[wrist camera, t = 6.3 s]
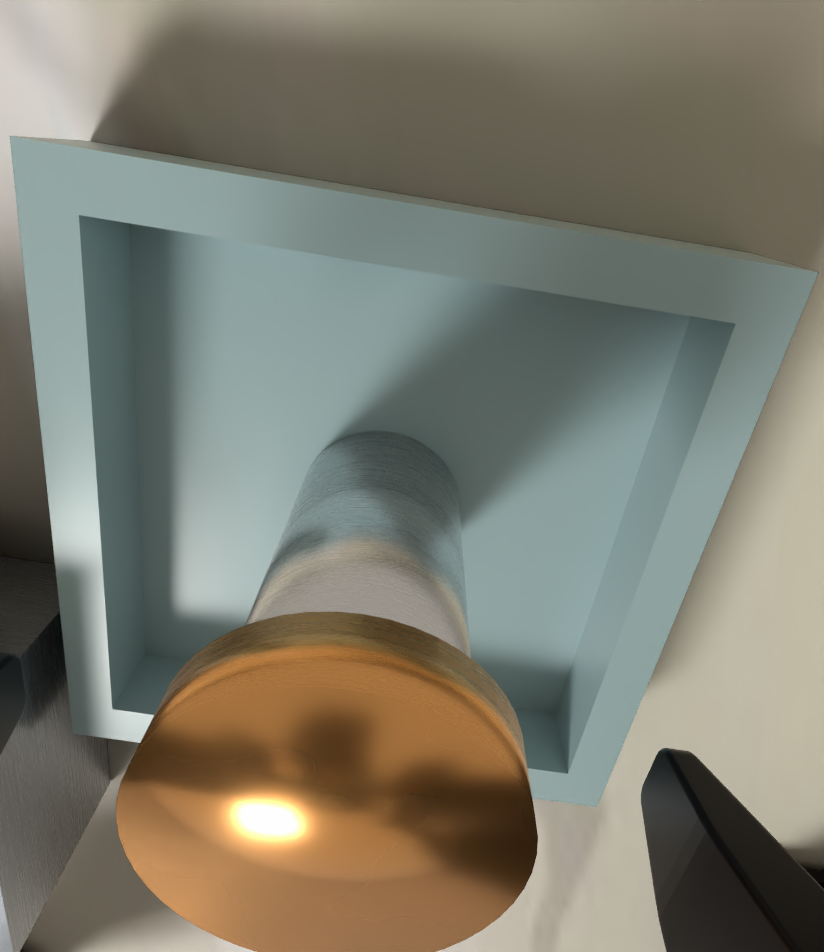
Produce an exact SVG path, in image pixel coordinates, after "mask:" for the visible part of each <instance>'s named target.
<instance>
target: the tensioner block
mask: <svg viewBox="0 0 824 952" xmlns="http://www.w3.org/2000/svg"><path fill="white" fill-rule="evenodd" d="M0 651H3V652H10V653H14V654H17V655H18V656H19V658H20V660H21V665H22V672H23V678H24V685H25V692H26V704H25V708H24V711H23V714H22V716H21V718H20V720H19V722H18V724H17V725H16V727H15V729H14V731H13V733H12V735H11V737H10V739H9V741H8V743H7V744H6V746H5V748H4V750H3V752H2V754H1V756H0V952H20V950H21V949H22V947H23V945H24V943H25V941H26V939H27V937H28V935H29V934H30V932H31V930H32V928H33V926H34V924H35V922H36V920H37V919H38V917H39V915H40V913H41V911H42V909H43V907H44V905H45V904H46V902H47V900H48V898H49V896H50V894H51V892H52V890H53V889H54V887H55V885H56V883H57V881H58V879H59V877H60V875H61V874H62V872H63V870H64V868H65V866H66V864H67V862H68V860H69V859H70V857H71V855H72V853H73V851H74V849H75V847H76V845H77V844H78V842H79V840H80V838H81V836H82V834H83V832H84V830H85V829H86V827H87V825H88V823H89V821H90V819H91V817H92V815H93V814H94V812H95V810H96V808H97V806H98V804H99V802H100V800H101V799H102V797H103V795H104V793H105V791H106V789H107V787H108V785H109V784H110V775H109V762H108V748H107V738H102V737H95V736H87V735H80V734H73V729H72V719H71V710H70V701H69V691H68V682H67V672H66V663H65V653H64V644H63V635H62V625H61V616H60V606H59V597H58V587H57V578H56V569H55V564H48V563H41V562H35V561H28V560H21V559H15V558H8V557H1V556H0Z"/></svg>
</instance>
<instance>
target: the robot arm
mask: <svg viewBox="0 0 824 952" xmlns="http://www.w3.org/2000/svg"><path fill="white" fill-rule="evenodd" d="M25 704H26V692H25V685H24V678H23V672H22V665H21V660H20V658H19V656H18V655H17V654H14V653H10V652H3V651H0V756H1V754H2V752H3V750H4V748H5V746H6V744H7V743H8V741H9V739H10V737H11V735H12V733H13V731H14V729H15V727H16V725H17V724H18V722H19V720H20V718H21V716H22V714H23V711H24V708H25ZM641 805H642V812H643V819H644V825H645V832H646V839H647V846H648V852H649V859H650V866H651V873H652V879H653V886H654V893H655V899H656V905H657V911H658V917H659V922H660V926H661V930H662V935H663V939H664V943H665V947H666V951H667V952H824V871H819V870H812V869H805V868H803V867H802V866H801V865H800V864H799V863H798V862H797V861H796V860H795V859H794V858H793V857H792V856H791V855H790V854H789V853H788V851H787V850H786V849H785V848H784V847H783V846H782V845H781V844H780V843H779V842H778V841H777V840H776V839H775V838H774V837H773V836H772V835H771V834H770V833H769V832H768V831H767V830H766V829H765V828H764V827H763V825H762V824H761V823H760V822H759V821H758V820H757V819H756V818H755V817H754V816H753V815H752V814H751V813H750V812H749V811H748V810H747V809H746V808H745V807H744V806H743V805H742V804H741V803H740V802H739V801H738V799H737V798H736V797H735V796H734V795H733V794H732V793H731V792H730V791H729V790H728V789H727V788H726V787H725V786H724V785H723V784H722V783H721V782H720V781H719V780H718V779H717V778H716V777H715V776H714V775H713V773H712V772H711V771H710V770H709V769H708V768H707V767H706V766H705V765H704V764H703V763H702V762H701V761H700V760H699V759H698V758H697V757H696V756H695V755H694V754H692V753H691V752H688V751H683V750H676V749H669V748H663V749H661V750H660V751H659V752H658V754H657V755H656V758H655V760H654V762H653V764H652V766H651V769H650V771H649V773H648V775H647V778H646V780H645V782H644V784H643V787H642V792H641Z"/></svg>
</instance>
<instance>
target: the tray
mask: <svg viewBox="0 0 824 952" xmlns="http://www.w3.org/2000/svg"><path fill="white" fill-rule="evenodd" d="M10 144H11V154H12V163H13V172H14V182H15V191H16V201H17V210H18V220H19V229H20V238H21V248H22V257H23V267H24V276H25V286H26V295H27V304H28V314H29V323H30V333H31V342H32V352H33V361H34V370H35V380H36V389H37V399H38V408H39V418H40V427H41V436H42V446H43V455H44V465H45V474H46V484H47V493H48V503H49V512H50V521H51V531H52V540H53V550H54V559H55V569H56V578H57V587H58V597H59V606H60V616H61V625H62V635H63V644H64V653H65V663H66V672H67V682H68V691H69V701H70V710H71V719H72V729H73V734H80V735H87V736H95V737H102V738H109V739H116V740H123V741H130V742H137V743H140V742H141V740H142V738H143V736H144V734H145V732H146V730H147V728H148V726H149V725H150V723H151V721H152V719H153V717H154V715H155V713H156V711H157V709H158V707H159V705H160V703H161V701H162V699H163V697H164V695H165V693H166V691H167V689H168V687H169V685H170V683H171V682H172V680H173V679H174V677H175V676H176V675H177V673H178V672H179V670H180V669H181V668H182V667H183V666H184V665H185V664H186V663H187V662H188V661H189V660H190V659H191V658H192V657H193V656H194V655H195V654H196V653H197V652H198V651H200V650H201V649H203V648H204V647H205V646H207V645H208V644H209V643H211V642H212V641H214V640H215V639H217V638H219V637H221V636H223V635H225V634H227V633H229V632H231V631H232V630H234V629H237V628H240V627H242V626H245V624H246V621H247V619H248V616H249V614H250V611H251V609H252V607H253V604H254V602H255V599H256V597H257V594H258V592H259V589H260V587H261V584H262V582H263V580H264V577H265V575H266V572H267V570H268V567H269V565H270V562H271V560H272V557H273V555H274V552H275V550H276V548H277V545H278V543H279V540H280V538H281V535H282V533H283V530H284V528H285V525H286V523H287V520H288V518H289V516H290V513H291V511H292V508H293V506H294V503H295V501H296V498H297V496H298V493H299V491H300V489H301V486H302V484H303V481H304V479H305V476H306V474H307V472H308V470H309V468H310V466H311V465H312V463H313V462H314V460H315V459H316V458H317V457H318V456H319V455H320V454H321V452H322V451H324V450H325V449H326V448H327V447H329V446H330V445H331V444H333V443H335V442H337V441H338V440H340V439H343V438H345V437H347V436H350V435H353V434H357V433H362V432H369V431H385V432H393V433H398V434H402V435H405V436H408V437H411V438H413V439H415V440H417V441H419V442H421V443H423V444H424V445H426V446H427V447H429V448H430V449H431V450H433V451H434V452H435V453H436V454H437V455H438V456H439V457H440V458H441V459H442V460H443V461H444V462H445V464H446V465H447V467H448V468H449V470H450V471H451V473H452V475H453V477H454V480H455V483H456V486H457V489H458V495H459V506H460V519H461V533H462V546H463V560H464V574H465V587H466V601H467V614H468V628H469V642H470V655H471V659H472V660H473V661H475V662H476V663H477V664H479V665H480V666H481V667H482V668H483V669H484V670H485V671H486V672H487V673H488V674H489V675H490V676H491V677H492V678H493V679H494V680H495V682H496V683H497V684H498V686H499V687H500V688H501V690H502V691H503V692H504V694H505V695H506V696H507V698H508V700H509V702H510V704H511V706H512V707H513V709H514V711H515V713H516V715H517V718H518V721H519V725H520V728H521V731H522V736H523V742H524V749H525V755H526V762H527V768H528V775H529V781H530V788H531V794H532V798H536V799H543V800H550V801H557V802H564V803H571V804H578V805H585V806H593V807H597V806H598V804H599V801H600V799H601V796H602V794H603V792H604V789H605V787H606V784H607V782H608V780H609V777H610V775H611V772H612V770H613V768H614V765H615V763H616V760H617V758H618V755H619V753H620V751H621V748H622V746H623V743H624V741H625V739H626V736H627V734H628V731H629V729H630V727H631V724H632V722H633V719H634V717H635V714H636V712H637V710H638V707H639V705H640V702H641V700H642V698H643V695H644V693H645V690H646V688H647V685H648V683H649V681H650V678H651V676H652V673H653V671H654V669H655V666H656V664H657V661H658V659H659V657H660V654H661V652H662V649H663V647H664V644H665V642H666V640H667V637H668V635H669V632H670V630H671V628H672V625H673V623H674V620H675V618H676V616H677V613H678V611H679V608H680V606H681V603H682V601H683V599H684V596H685V594H686V591H687V589H688V587H689V584H690V582H691V579H692V577H693V574H694V572H695V570H696V567H697V565H698V562H699V560H700V558H701V555H702V553H703V550H704V548H705V546H706V543H707V541H708V538H709V536H710V533H711V531H712V529H713V526H714V524H715V521H716V519H717V517H718V514H719V512H720V509H721V507H722V505H723V502H724V500H725V497H726V495H727V492H728V490H729V488H730V485H731V483H732V480H733V478H734V476H735V473H736V471H737V468H738V466H739V463H740V461H741V459H742V456H743V454H744V451H745V449H746V447H747V444H748V442H749V439H750V437H751V435H752V432H753V430H754V427H755V425H756V422H757V420H758V418H759V415H760V413H761V410H762V408H763V406H764V403H765V401H766V398H767V396H768V394H769V391H770V389H771V386H772V384H773V381H774V379H775V377H776V374H777V372H778V369H779V367H780V365H781V362H782V360H783V357H784V355H785V352H786V350H787V348H788V345H789V343H790V340H791V338H792V336H793V333H794V331H795V328H796V326H797V324H798V321H799V319H800V316H801V314H802V311H803V309H804V307H805V304H806V302H807V299H808V297H809V295H810V292H811V290H812V287H813V285H814V283H815V280H816V278H817V275H818V273H819V272H816V271H812V270H809V269H805V268H802V267H798V266H795V265H791V264H788V263H784V262H781V261H777V260H774V259H770V258H767V257H763V256H760V255H756V254H753V253H748V252H742V251H736V250H730V249H724V248H718V247H712V246H707V245H701V244H695V243H689V242H683V241H677V240H671V239H665V238H659V237H653V236H647V235H641V234H636V233H630V232H624V231H618V230H612V229H606V228H600V227H594V226H588V225H582V224H576V223H570V222H565V221H559V220H553V219H547V218H541V217H535V216H529V215H523V214H517V213H511V212H505V211H499V210H494V209H488V208H482V207H476V206H470V205H464V204H458V203H452V202H446V201H440V200H434V199H428V198H423V197H417V196H411V195H405V194H399V193H393V192H387V191H381V190H375V189H369V188H363V187H357V186H352V185H346V184H340V183H334V182H328V181H322V180H316V179H310V178H304V177H298V176H292V175H286V174H281V173H275V172H269V171H263V170H257V169H251V168H245V167H239V166H233V165H227V164H221V163H215V162H210V161H204V160H198V159H192V158H186V157H180V156H174V155H168V154H162V153H156V152H150V151H144V150H139V149H133V148H127V147H121V146H115V145H109V144H103V143H97V142H91V141H81V140H65V139H49V138H34V137H18V136H10Z"/></svg>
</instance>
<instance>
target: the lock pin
mask: <svg viewBox="0 0 824 952" xmlns="http://www.w3.org/2000/svg"><path fill="white" fill-rule="evenodd" d="M116 821H117V827H118V833H119V838H120V840H121V843H122V846H123V849H124V851H125V854H126V856H127V858H128V859H129V861H130V863H131V865H132V867H133V868H134V870H135V872H136V873H137V874H138V875H139V877H140V878H141V879H142V881H143V882H144V883H145V885H146V886H147V887H148V888H149V889H150V890H151V891H152V892H153V893H154V894H155V895H156V896H157V897H158V898H159V899H160V900H161V901H162V902H163V903H165V904H166V905H167V906H168V907H170V908H171V909H172V910H173V911H175V912H176V913H177V914H179V915H180V916H182V917H183V918H185V919H186V920H188V921H189V922H191V923H193V924H194V925H196V926H197V927H199V928H201V929H203V930H205V931H207V932H209V933H211V934H213V935H215V936H217V937H219V938H221V939H224V940H226V941H228V942H231V943H233V944H236V945H238V946H241V947H244V948H247V949H250V950H253V951H257V952H436V951H439V950H442V949H445V948H447V947H450V946H452V945H454V944H456V943H459V942H461V941H463V940H466V939H467V938H469V937H471V936H473V935H474V934H476V933H478V932H479V931H481V930H483V929H484V928H486V927H487V926H488V925H490V924H491V923H492V922H494V921H495V920H496V919H498V918H499V917H500V916H501V915H502V914H503V913H504V912H505V911H506V910H507V909H508V908H509V907H510V906H511V905H512V904H513V903H514V902H515V900H516V899H517V898H518V896H519V895H520V893H521V892H522V891H523V889H524V888H525V886H526V883H527V881H528V879H529V877H530V875H531V873H532V870H533V867H534V863H535V859H536V856H537V842H538V835H537V828H536V820H535V814H534V807H533V801H532V794H531V788H530V781H529V775H528V768H527V762H526V755H525V749H524V742H523V736H522V731H521V728H520V725H519V721H518V718H517V715H516V713H515V711H514V709H513V707H512V706H511V704H510V702H509V700H508V698H507V696H506V695H505V694H504V692H503V691H502V690H501V688H500V687H499V686H498V684H497V683H496V682H495V680H494V679H493V678H492V677H491V676H490V675H489V674H488V673H487V672H486V671H485V670H484V669H483V668H482V667H481V666H480V665H479V664H477V663H476V662H475V661H473V660H472V659H471V655H470V642H469V628H468V614H467V601H466V587H465V574H464V560H463V546H462V533H461V519H460V506H459V495H458V489H457V486H456V483H455V480H454V477H453V475H452V473H451V471H450V470H449V468H448V467H447V465H446V464H445V462H444V461H443V460H442V459H441V458H440V457H439V456H438V455H437V454H436V453H435V452H434V451H433V450H431V449H430V448H429V447H427V446H426V445H424V444H423V443H421V442H419V441H417V440H415V439H413V438H411V437H408V436H405V435H402V434H398V433H393V432H385V431H369V432H362V433H357V434H353V435H350V436H347V437H345V438H343V439H340V440H338V441H337V442H335V443H333V444H331V445H330V446H329V447H327V448H326V449H325V450H324V451H322V452H321V454H320V455H319V456H318V457H317V458H316V459H315V460H314V462H313V463H312V465H311V466H310V468H309V470H308V472H307V474H306V476H305V479H304V481H303V484H302V486H301V489H300V491H299V493H298V496H297V498H296V501H295V503H294V506H293V508H292V511H291V513H290V516H289V518H288V520H287V523H286V525H285V528H284V530H283V533H282V535H281V538H280V540H279V543H278V545H277V548H276V550H275V552H274V555H273V557H272V560H271V562H270V565H269V567H268V570H267V572H266V575H265V577H264V580H263V582H262V584H261V587H260V589H259V592H258V594H257V597H256V599H255V602H254V604H253V607H252V609H251V611H250V614H249V616H248V619H247V621H246V624H245V626H242V627H240V628H237V629H234V630H232V631H231V632H229V633H227V634H225V635H223V636H221V637H219V638H217V639H215V640H214V641H212V642H211V643H209V644H208V645H207V646H205V647H204V648H203V649H201V650H200V651H198V652H197V653H196V654H195V655H194V656H193V657H192V658H191V659H190V660H189V661H188V662H187V663H186V664H185V665H184V666H183V667H182V668H181V669H180V670H179V672H178V673H177V675H176V676H175V677H174V679H173V680H172V682H171V683H170V685H169V687H168V689H167V691H166V693H165V695H164V697H163V699H162V701H161V703H160V705H159V707H158V709H157V711H156V713H155V715H154V717H153V719H152V721H151V723H150V725H149V726H148V728H147V730H146V732H145V734H144V736H143V738H142V740H141V742H140V744H139V746H138V748H137V750H136V752H135V754H134V756H133V758H132V760H131V762H130V764H129V766H128V768H127V771H126V773H125V775H124V777H123V779H122V781H121V784H120V788H119V792H118V797H117V804H116Z"/></svg>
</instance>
